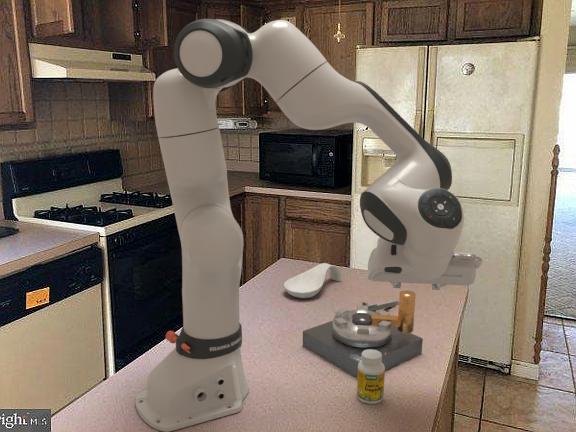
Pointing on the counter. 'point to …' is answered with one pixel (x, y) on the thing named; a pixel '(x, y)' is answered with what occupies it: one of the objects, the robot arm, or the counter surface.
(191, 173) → the robot arm
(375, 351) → the supplement bottle
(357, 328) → the rotary crank dial
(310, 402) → the counter surface
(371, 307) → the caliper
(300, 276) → the spoon rest
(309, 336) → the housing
